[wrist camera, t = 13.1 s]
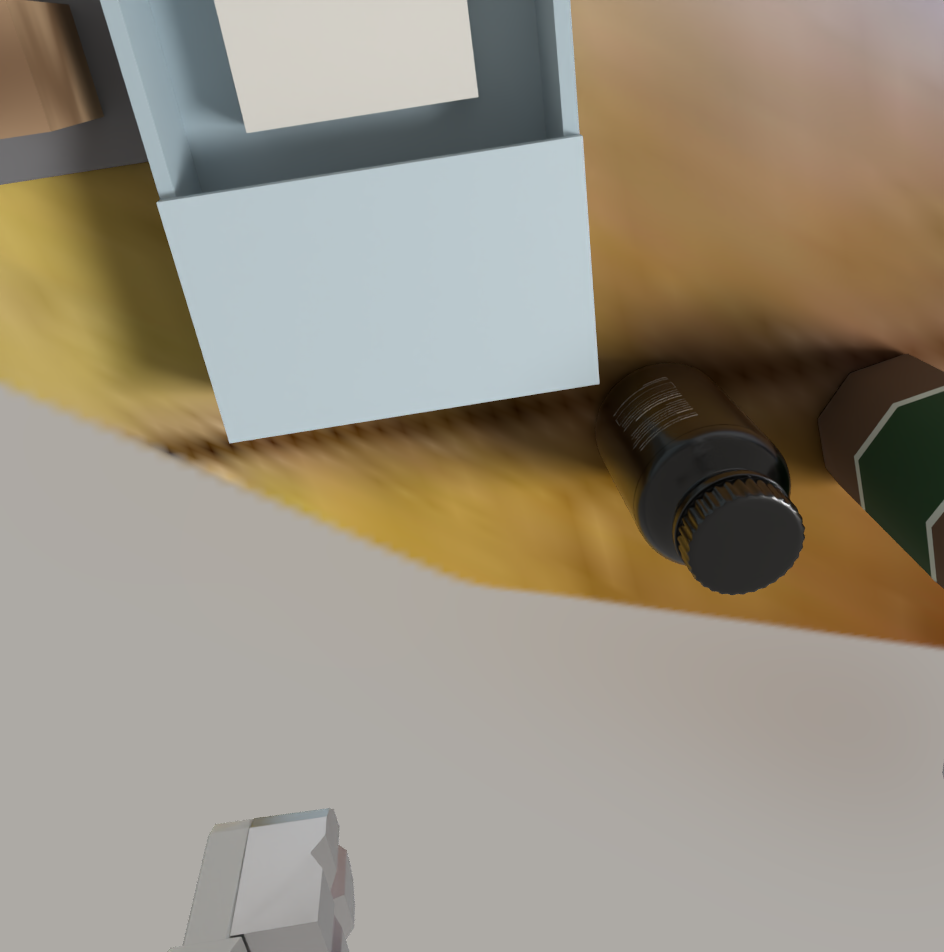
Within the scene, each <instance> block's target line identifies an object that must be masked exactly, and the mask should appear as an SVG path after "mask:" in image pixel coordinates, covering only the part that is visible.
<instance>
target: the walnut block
mask: <svg viewBox="0 0 944 952" xmlns="http://www.w3.org/2000/svg"><path fill="white" fill-rule="evenodd" d="M101 117H104V115H103V111H102V108H101V105H100V102H99V99H98V95H97V92H96V89H95V86H94V83H93V79H92V76H91V73H90V70H89V67H88V64H87V60H86V57H85V54H84V51H83V48H82V44H81V41H80V38H79V35H78V32H77V29H76V25H75V22H74V19H73V16H72V13H71V9H70V6H69V4H58V3H48V2H37V1H27V0H0V139H5V138H12V137H19V136H25V135H32V134H38V133H45V132H51V131H55V130H59V129H62V128H66V127H69V126H73V125H76V124H80V123H83V122H87V121H91V120H94V119H98V118H101Z"/></svg>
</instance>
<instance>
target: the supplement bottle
mask: <svg viewBox="0 0 944 952" xmlns="http://www.w3.org/2000/svg"><path fill="white" fill-rule="evenodd" d="M595 437H596V443H597V447H598V450H599V453H600V455H601V457H602V459H603V462H604V464H605V466H606V468H607V470H608V472H609V473H610V475H611V477H612V479H613V481H614V483H615V485H616V487H617V489H618V491H619V493H620V494H621V496H622V498H623V500H624V502H625V504H626V506H627V508H628V510H629V512H630V514H631V516H632V517H633V519H634V521H635V523H636V525H637V527H638V529H639V531H640V532H641V534H642V536H643V537H644V539H645V540H646V541H647V543H648V544H649V545H650V546H651V547H652V548H653V549H654V550H655V551H656V552H657V553H659V554H660V555H661V556H663V557H665V558H666V559H668V560H671V561H673V562H675V563H678V564H681V565H685V566H687V568H688V569H689V571H690V572H691V573H692V575H693V577H694V578H695V579H696V580H697V581H699V582H700V583H701V585H702V586H704V587H708V588H709V589H710V590H711V591H718V592H719V593H721V594H730V595H735V594H745V593H747V592H755V591H757V590H758V589H761V588H765V587H767V586H768V585H769V584H771V583H774V582H776V581H777V579H778V578H779V577H781V576H783V575H785V573H786V572H787V570H788V569H790V568H791V567H792V566H793V563H794V561H795V560H796V559H797V558H798V557H799V552H800V551H801V549H802V548H803V545H802V543H803V541H804V539H805V536H804V534H803V533H804V530H805V527H804V525H803V524H802V517H801V515H800V514H799V513H798V510H797V508H796V506H795V505H794V504H793V503H792V502H791V501H790V494H791V481H790V474H789V470H788V467H787V464H786V462H785V460H784V458H783V456H782V455H781V453H780V452H779V450H778V449H777V448H776V447H775V445H774V444H773V443H772V442H771V441H770V440H769V439H768V437H767V436H766V435H765V434H764V433H763V432H762V431H761V430H760V429H759V428H758V427H757V426H756V425H755V424H754V423H753V422H752V421H751V420H750V419H749V418H748V416H747V415H746V414H745V413H744V412H743V411H742V410H741V409H740V408H739V407H738V406H737V405H736V404H735V403H734V402H733V401H732V400H731V399H730V398H729V397H728V396H727V394H726V393H725V392H724V391H723V390H722V389H721V388H720V387H719V386H718V385H717V384H716V383H715V382H714V381H713V380H712V379H711V378H709V377H708V376H707V375H706V374H704V373H703V372H701V371H700V370H698V369H696V368H694V367H691V366H688V365H685V364H680V363H657V364H652V365H649V366H645V367H643V368H640V369H638V370H636V371H634V372H632V373H630V374H629V375H627V376H626V377H624V378H623V379H622V380H621V381H619V382H618V383H617V384H616V385H615V386H614V387H613V388H612V390H611V391H610V392H609V393H608V395H607V396H606V398H605V399H604V401H603V403H602V405H601V407H600V409H599V412H598V415H597V420H596V427H595Z"/></svg>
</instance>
